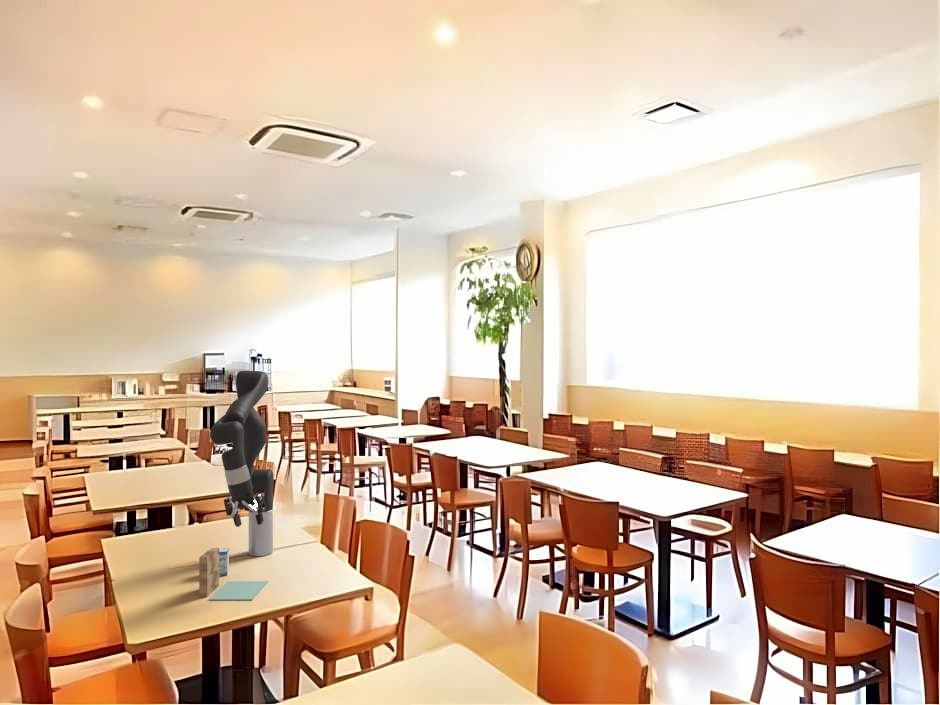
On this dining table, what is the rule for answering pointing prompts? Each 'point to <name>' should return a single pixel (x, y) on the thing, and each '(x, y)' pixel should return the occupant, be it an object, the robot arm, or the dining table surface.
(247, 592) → the mat
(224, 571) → the medicine box
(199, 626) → the dining table surface
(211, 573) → the wooden block
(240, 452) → the robot arm
